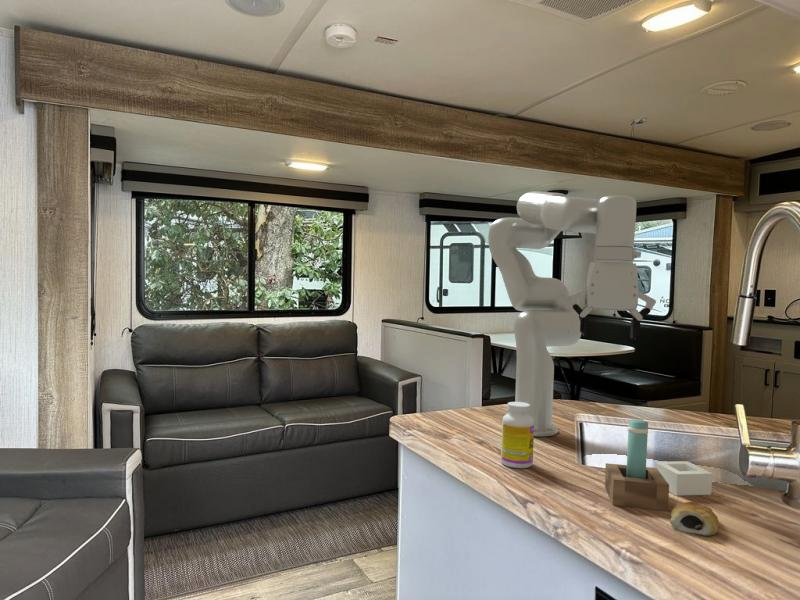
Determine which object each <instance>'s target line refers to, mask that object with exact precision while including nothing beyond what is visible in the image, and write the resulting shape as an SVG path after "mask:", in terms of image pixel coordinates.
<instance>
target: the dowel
mask: <svg viewBox="0 0 800 600" xmlns="http://www.w3.org/2000/svg"><path fill="white" fill-rule="evenodd" d="M627 430H628V432H627V434H628V436H627V453H626V455H627V456H626V465H627V471H626V477H630V478H640V479H645V478H646V467H647V455H648V454H647V453H648V435H649V421H647V420H644V419H636V418H633V419H629V420H628V427H627Z"/></svg>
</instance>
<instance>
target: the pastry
mask: <svg viewBox="0 0 800 600" xmlns="http://www.w3.org/2000/svg"><path fill="white" fill-rule="evenodd" d="M670 514H671V518H670V519H669V523H670V525H671V527H672V529H674V530H677V531H680V532H684V533H688V534H694V535H695V534H696V535H698V536H702V535H703V537H708V536H709V537H712V536H711V535H713V536H715V535H716V534H717V533H718V531H719V529H720V527H719V526H720V525H719V524H720V521H719V519H718V516H717V514H716V513H715V512H714V511H713V510H712V508H710V507H709V506H707V505H703V504H700V503H699V502H695V501H686V502H679V503H677V504H676V505H675V506H674V507H673V508H672V509H671V513H670Z"/></svg>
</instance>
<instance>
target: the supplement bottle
mask: <svg viewBox="0 0 800 600" xmlns="http://www.w3.org/2000/svg"><path fill="white" fill-rule="evenodd" d="M506 408H507V411H508V412H507V413H506V414H505V415H503V417H502V421H501V423H502V424H501V446H500V447H501V448H500V449H501V450H500V451H501V452H500V462H501V463H502V464H503V465H504V466H507V467H508V468H509V467H510V468H513V469H527V468H530V467H532V466H533V461H534V441H535V440H534V439H535V438H534V437H535V436H534V420H533V418H532V417H531V416H529V411H530V404H528V403H523V402H515V401H509V402H507V407H506Z"/></svg>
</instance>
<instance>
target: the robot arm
mask: <svg viewBox="0 0 800 600" xmlns="http://www.w3.org/2000/svg"><path fill="white" fill-rule="evenodd" d="M516 211H517V215H518V216H519V217H501V218H499V219H496V220H495V221H493V222H492V223H491V225H490V227H489V229H488V235H487V236H488V237H487V238H488V239H487V240H488V250H489V253H490V254H491V257H492V259H493V261H494V263H495V265H496V266H497V267H498V270H499V271H500V274H501V277H502V280H503V284H504V287H505V289H506V293H507V295H508V299H509V301H510V304H511V306H512V307H513V308H514V309H515V310H516V311H519V312H520V313H519V314H517V316H516V317H515V319H514V323H513V332H514V338H515V346H516V348H515V349H516V365H515V366H516V373H515V398H514V399H515V400H514V402H523V403H528V404H530V411H529V416H531V417H532V418H533V420H534V437H551V436H554V435H556V434H558V432H559V428H558V426H556V425H555V424H553V408H554V407H553V403H554V380H555V379H554V378H555V376H554V375H555V364H554V360H553V358H552V355H551V354H550V352H549V350H548V347H567V346H568V347H569V346H574V345H575V344H577V343H578V342H579V340H580V339H581V337H583V338H584V337H585V338H586V337H588V333H589V332H588V331H589V318H588V315H589V314H590V313H591V312H592V311H593V310H602V311H619V312H621V311H623V312H625V311H626V312H627V311H628V312H629V314H630V315H631V316H632V319H631V320H630V328H629V329H630V332H629V333H630V334H629V338H630V339H631V340H633V341H637V337H638V336H640V333H641V332H640V331H641V321H642V320H643V319H644V318H645V317H647V316H648V315H649V314H650V313H651V310H652V309H653V308H654V306H655V304H656V303H657V300H656V299H654V297H651V296H649V295H647V294H645V293H644V292H641V291H640V290H639V278H638V266H637V263H634V260H635V259H637V258H638V259H640V258H641V256H642V251H641V250H636V248H635V238H636V237H635V236H636V235H635V234H636V221H637V220H636V219H637V201H636V199H635V197H633V196H629V195H617V194H616V195H607V196H603V197H601V198H600V199H599V198H598V199H597V198H588V197H585V198H584V197H576V196H575V197H574V196H568V195H566V194H564V193H560V192H551V191H550V192H549V191H541V190H540V191H539V190H536V191H535V190H534V191H533V190H532V191H528V192H526V193H524V194H523V195H522V196H520V197H519V199H518V200H517V204H516ZM561 232H567V233H581V234H583V233H584V234H585V233H586V234H595V247H594V261H591V262H590V263H589V266H588V271H587V275H586V284H585V285H586V286H585V288H583V289H581V290H579V291H576V292H574V293H571V294H570V292H569V290H568V287H567V286H566V285H565V283H564V282H563V281H561V280H560V279H558V278H554V277H541V276H538V275H536V274H535V271H534V269H533V267H532V264H531V262H530V261H529V259H528V258H527V257H526V256H525V255H524V254H523V253H522V252H520V251H519V250H518V249H530V250H541V249H544V248H547V247H548V246H549V245H550V244H551V243H552V242H553V241H554V239H556V238H557V236H558V235H559V234H560V233H561ZM582 297H584V305H585V306H584V307H583V308H581V307H580V305H579V304H578V302H577V300H578V299H579V298H582ZM639 299H640V300H642V301H643V302H645V305H644V307H643V308H641V310H640V311H639V310H638V309H637V308H638V303H639Z"/></svg>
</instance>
